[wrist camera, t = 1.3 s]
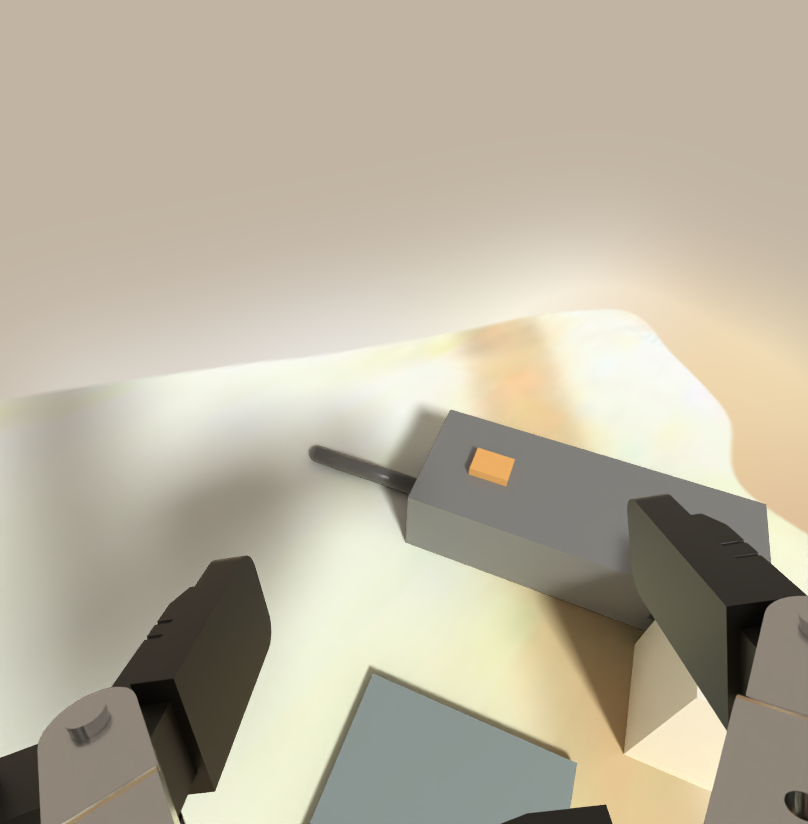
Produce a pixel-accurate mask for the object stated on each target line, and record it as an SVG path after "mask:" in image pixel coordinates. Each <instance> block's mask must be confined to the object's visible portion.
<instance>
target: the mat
mask: <svg viewBox="0 0 808 824" xmlns="http://www.w3.org/2000/svg"><path fill="white" fill-rule="evenodd" d="M576 766H577V763H575V762H573V761H571V760H569V759H566V758H564V757H562V756H560V755H557V754H555V753H553V752H550V751H548V750H546V749H544V748H541V747H539V746H537V745H535V744H532V743H530V742H528V741H525V740H523V739H521V738H519V737H516V736H514V735H512V734H510V733H507V732H505V731H503V730H501V729H498V728H496V727H494V726H491V725H489V724H487V723H485V722H482V721H480V720H478V719H476V718H473V717H471V716H469V715H466V714H464V713H462V712H460V711H457V710H455V709H453V708H451V707H448V706H446V705H444V704H441V703H439V702H437V701H435V700H432V699H430V698H428V697H426V696H423V695H421V694H419V693H417V692H414V691H412V690H410V689H407V688H405V687H403V686H401V685H398V684H396V683H394V682H392V681H389V680H387V679H385V678H382V677H380V676H378V675H376V674H372V677H371V679H370V682H369V684H368V686H367V689H366V691H365V693H364V696H363V698H362V701H361V703H360V705H359V708H358V710H357V712H356V715H355V717H354V719H353V722H352V724H351V727H350V729H349V731H348V734H347V736H346V738H345V741H344V743H343V745H342V748H341V750H340V753H339V755H338V757H337V760H336V762H335V764H334V767H333V769H332V772H331V774H330V776H329V779H328V781H327V783H326V786H325V788H324V790H323V793H322V795H321V798H320V800H319V802H318V805H317V807H316V809H315V812H314V814H313V817H312V819H311V821H310V824H501V823H504V822H506V821H509V820H511V819H514V818H516V817H519V816H522V815H524V814H527V813H534V812H544V811H553V810H562V809H570V805H571V799H572V792H573V785H574V779H575V772H576Z"/></svg>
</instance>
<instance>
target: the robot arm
mask: <svg viewBox="0 0 808 824" xmlns="http://www.w3.org/2000/svg"><path fill="white" fill-rule="evenodd" d="M627 516H628V530H629V543H630V557H631V569H632V574H633V578H634V582H635V585H636V588H637V590H638V593H639V595H640V597H641V599H642V600H643V602H644V603H645V605H646V606H647V608H648V609H649V611H650V613H651V614H652V616H653V617H654V619H655V620H656V622H657V623H658V625H659V627H660V628H661V630H662V631H663V633H664V634H665V636H666V637H667V639H668V641H669V642H670V644H671V645H672V647H673V648H674V650H675V651H676V653H677V655H678V656H679V658H680V659H681V661H682V662H683V664H684V665H685V667H686V669H687V670H688V672H689V673H690V675H691V676H692V678H693V679H694V681H695V683H696V684H697V686H698V687H699V689H700V690H701V692H702V693H703V695H704V696H705V698H706V700H707V701H708V703H709V704H710V706H711V707H712V709H713V710H714V712H715V714H716V715H717V717H718V718H719V720H720V721H721V723H722V724H723V726H724V728H725V729H726V731H727V733H726V737H725V741H724V745H723V749H722V753H721V757H720V761H719V765H718V769H717V773H716V777H715V781H714V785H713V789H712V793H711V797H710V801H709V805H708V809H707V813H706V817H705V821H704V824H808V596H807V595H806V594H805V593H804V592H802V591H801V590H800V589H799V588H798V587H797V586H796V585H795V584H793V583H792V582H791V581H790V580H789V579H788V578H787V577H785V576H784V575H783V574H782V573H781V572H780V571H779V570H778V569H776V568H775V567H774V566H773V565H772V564H771V563H770V562H769V561H767V560H766V559H765V558H764V557H763V556H762V555H760V556H759V555H758V552H757V551H756V550H755V549H754V548H753V547H752V546H750V545H749V544H748V543H747V542H746V543H745V542H744V539H743V538H741V537H740V536H739V535H738V534H737V533H736V532H735V531H734V530H732V529H731V528H730V527H729V526H728V525H727V524H725V523H722V522H720V521H718V520H716V519H713V518H711V517H709V516H706V515H704V514H702V513H700V514H693V515H691V514H690V513H688V512H687V511H686V510H685V509H684V508H683V507H682V506H681V505H680V504H679V503H678V502H677V501H676V500H675V499H674V498H673V497H672V496H671V495H669V494H660V495H653V496H647V497H640V498H633V499H630V500H629V501H628V504H627ZM270 641H271V621H270V616H269V612H268V609H267V606H266V602H265V599H264V595H263V592H262V589H261V585H260V582H259V578H258V575H257V572H256V568H255V565H254V562H253V560H252V559H251V558H250V557H249V556H240V557H234V558H227V559H220V560H214V561H212V562H211V563H210V564H209V566H208V567H207V569H206V570H205V572H204V573H203V575H202V576H201V578H200V579H199V581H198V583H197V584H196V586H195V587H190V588H188V589H187V590H186V591H185V592H184V593H182V594H181V595H180V596H179V597H178V598H176V599H175V600H174V601H173V602H172V603H170V604H169V606H168V607H167V609H166V610H165V612H164V613H163V614H162V616H161V617H160V619H159V620H158V625H155V626H154V627H153V629H152V630H151V631H150V633H149V634H148V636H147V640H144V641H143V643H142V644H141V646H140V647H139V649H138V650H137V651H136V653H135V654H134V656H133V657H132V659H131V660H130V661H129V663H128V664H127V666H126V667H125V668H124V670H123V671H122V673H121V674H120V676H119V677H118V678H117V680H116V681H115V683H114V684H113V686H112V687H111V688H107V689H103V690H100V691H97V692H94V693H92V694H90V695H88V696H86V697H84V698H82V699H80V700H78V701H77V702H75V703H74V704H72V705H71V706H69V707H68V708H66V709H65V710H64V711H63V712H61V713H60V714H59V715H58V716H57V717H56V718H55V719H54V720H53V721H52V722H51V723H50V724H49V725H48V727H47V728H46V729H45V731H44V732H43V734H42V736H41V738H40V740H39V743H38V744H37V745H34V746H31V747H28V748H26V749H23V750H20V751H18V752H15V753H12V754H10V755H7V756H4V757H1V758H0V824H186V822H185V819H184V816H183V814H182V811H181V810H182V807H183V805H184V802H185V800H186V798H187V795H189V794H197V793H206V792H214V791H215V790H216V787H217V785H218V782H219V779H220V777H221V774H222V771H223V769H224V766H225V763H226V761H227V758H228V755H229V753H230V750H231V747H232V745H233V742H234V739H235V737H236V734H237V731H238V729H239V726H240V723H241V721H242V718H243V715H244V713H245V710H246V707H247V705H248V702H249V699H250V697H251V694H252V691H253V689H254V686H255V684H256V681H257V678H258V676H259V673H260V670H261V668H262V665H263V662H264V660H265V657H266V654H267V652H268V649H269V646H270ZM501 824H612V821H611V818H610V815H609V812H608V809H607V806H606V805H599V806H590V807H580V808H571V809H562V810H553V811H544V812H534V813H527V814H524V815H522V816H519V817H516V818H514V819H511V820H509V821H506V822H504V823H501Z"/></svg>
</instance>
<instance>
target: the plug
mask: <svg viewBox="0 0 808 824" xmlns="http://www.w3.org/2000/svg"><path fill="white" fill-rule="evenodd" d="M726 733H727V731H726V729H725V728H724V726H723V724H722V723H721V721H720V720H719V718H718V717H717V715H716V714H715V712H714V710H713V709H712V707H711V706H710V704H709V703H708V701H707V700H706V698H705V696H704V695H703V693H702V692H701V690H700V689H699V687H698V686H697V684H696V683H695V681H694V679H693V678H692V676H691V675H690V673H689V672H688V670H687V669H686V667H685V665H684V664H683V662H682V661H681V659H680V658H679V656H678V655H677V653H676V651H675V650H674V648H673V647H672V645H671V644H670V642H669V641H668V639H667V637H666V636H665V634H664V633H663V631H662V630H661V628H660V627H659V625H658V623H657V622H656V620H655V621H654V622H653V623H652V624H651V625H650V627H649V628H648V629H647V630H646V631H645V633H644V634H643V635H642V636H641V637H640V638H639V640H638V641H637V642H636V643H635V647H634V657H633V667H632V677H631V687H630V697H629V707H628V717H627V727H626V737H625V747H624V755H627V756H629V757H631V758H634V759H636V760H638V761H641V762H643V763H645V764H648V765H650V766H652V767H655V768H657V769H659V770H662V771H664V772H666V773H669V774H671V775H673V776H676V777H678V778H680V779H683V780H685V781H687V782H690V783H692V784H694V785H697V786H699V787H701V788H704V789H706V790H708V791H711V792H712V789H713V785H714V781H715V777H716V773H717V769H718V765H719V761H720V757H721V753H722V749H723V745H724V741H725V737H726Z"/></svg>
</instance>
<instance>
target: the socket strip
mask: <svg viewBox="0 0 808 824" xmlns="http://www.w3.org/2000/svg"><path fill="white" fill-rule="evenodd" d="M309 455H310V458H311V459H312V460H313V461H315V462H318V463H321V464H324V465H327V466H330V467H333V468H335V469H338V470H341V471H344V472H347V473H350V474H353V475H356V476H359V477H361V478H364V479H367V480H370V481H373V482H376V483H379V484H382V485H384V486H387V487H390V488H393V489H396V490H399V491H402V492H405V493H408V494H409V496H408V504H407V521H406V538H405V542H406V543H409V544H412V545H415V546H417V547H420V548H423V549H425V550H428V551H431V552H433V553H436V554H439V555H442V556H444V557H447V558H450V559H452V560H455V561H458V562H460V563H463V564H466V565H469V566H471V567H474V568H477V569H479V570H482V571H485V572H487V573H490V574H493V575H496V576H498V577H501V578H504V579H506V580H509V581H512V582H514V583H517V584H520V585H522V586H525V587H528V588H531V589H533V590H536V591H539V592H541V593H544V594H547V595H549V596H552V597H555V598H558V599H560V600H563V601H566V602H568V603H571V604H574V605H576V606H579V607H582V608H585V609H587V610H590V611H593V612H595V613H598V614H601V615H603V616H606V617H609V618H611V619H614V620H617V621H620V622H622V623H625V624H628V625H630V626H633V627H636V628H638V629H641V630H644V631H646V630H647V629H648V628H649V627H650V625H651V624H652V623H653V622H654V621H655V619H654V617H653V616H652V614H651V613H650V611H649V609H648V608H647V606H646V605H645V603H644V602H643V600H642V599H641V597H640V595H639V593H638V590H637V588H636V585H635V582H634V578H633V574H632V569H631V557H630V543H629V530H628V516H627V504H628V501H629V500H630V499H633V498H640V497H647V496H653V495H660V494H669V495H671V496H672V497H673V498H674V499H675V500H676V501H677V502H678V503H679V504H680V505H681V506H682V507H683V508H684V509H685V510H686V511H687V512H688V513H690V514H691V515H693V514H700V513H702V514H704V515H706V516H709V517H711V518H713V519H716V520H718V521H720V522H722V523H725V524H727V525H728V526H729V527H730V528H731V529H732V530H734V531H735V532H736V533H737V534H738V535H739V536H740V537H741V538H743V539H744V542H745V543H746V542H747V543H748V544H749V545H750V546H752V547H753V548H754V549H755V550H756V551H757V552H758V555H759V556H760V555H762V556H763V557H764V558H765V559H766V560H767V561H769V562H770V563H771V557H770V545H769V533H768V522H767V510H766V504H763V503H760V502H756V501H753V500H750V499H746V498H743V497H740V496H736V495H733V494H730V493H726V492H723V491H720V490H716V489H713V488H710V487H706V486H703V485H700V484H697V483H693V482H690V481H687V480H683V479H680V478H677V477H673V476H670V475H667V474H663V473H660V472H657V471H653V470H650V469H647V468H643V467H640V466H637V465H633V464H630V463H627V462H623V461H620V460H617V459H613V458H610V457H607V456H603V455H600V454H597V453H593V452H590V451H587V450H583V449H580V448H577V447H573V446H570V445H567V444H563V443H560V442H557V441H553V440H550V439H547V438H544V437H540V436H537V435H534V434H530V433H527V432H524V431H520V430H517V429H514V428H510V427H507V426H504V425H500V424H497V423H494V422H490V421H487V420H484V419H480V418H477V417H474V416H470V415H467V414H464V413H460V412H457V411H454V410H450V412H449V414H448V416H447V418H446V420H445V422H444V424H443V426H442V428H441V430H440V432H439V434H438V437H437V439H436V441H435V443H434V445H433V447H432V449H431V451H430V453H429V455H428V457H427V459H426V461H425V463H424V465H423V467H422V470H421V472H420V474H419V476H418V478H414V477H411V476H408V475H405V474H402V473H399V472H396V471H393V470H390V469H387V468H384V467H381V466H378V465H375V464H372V463H369V462H366V461H363V460H361V459H358V458H355V457H352V456H349V455H346V454H343V453H340V452H337V451H334V450H331V449H328V448H325V447H322V446H318V445H317V446H314V447H312V448H311V449H310V452H309Z"/></svg>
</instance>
